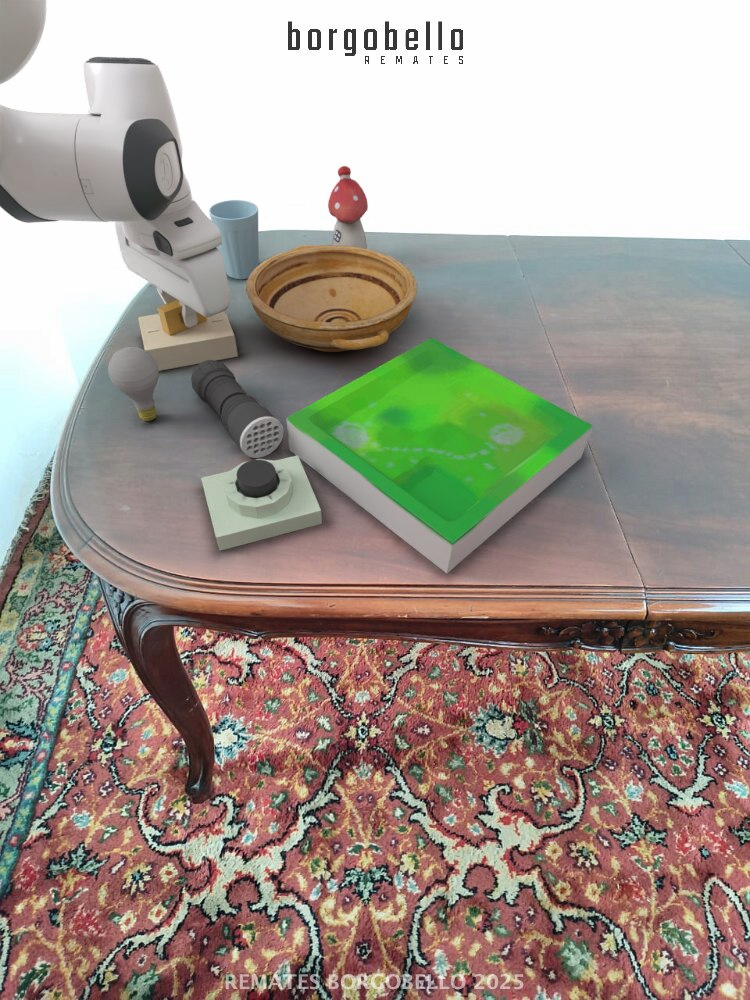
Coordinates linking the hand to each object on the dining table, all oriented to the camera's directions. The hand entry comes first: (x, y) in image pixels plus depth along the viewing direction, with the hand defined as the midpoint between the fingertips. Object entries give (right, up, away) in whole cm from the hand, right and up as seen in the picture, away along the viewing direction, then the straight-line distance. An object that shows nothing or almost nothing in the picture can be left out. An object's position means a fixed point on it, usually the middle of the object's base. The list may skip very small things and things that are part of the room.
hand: (183, 320), depth 82 cm
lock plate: (0, -3, +3) cm, 4 cm away
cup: (+4, +14, +19) cm, 24 cm away
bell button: (+14, -23, -20) cm, 34 cm away
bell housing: (+14, -26, -17) cm, 34 cm away
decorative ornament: (+22, +16, +22) cm, 35 cm away
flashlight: (+10, -15, -8) cm, 20 cm away
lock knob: (0, -1, +1) cm, 1 cm away
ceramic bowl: (+21, 0, +7) cm, 22 cm away
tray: (+34, -20, -11) cm, 41 cm away
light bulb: (-2, -15, -8) cm, 17 cm away
